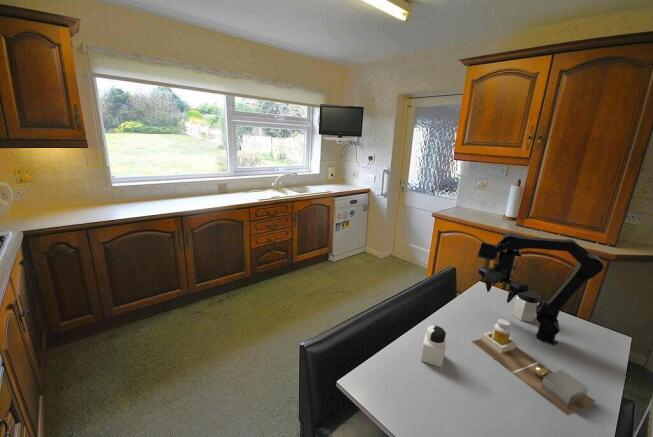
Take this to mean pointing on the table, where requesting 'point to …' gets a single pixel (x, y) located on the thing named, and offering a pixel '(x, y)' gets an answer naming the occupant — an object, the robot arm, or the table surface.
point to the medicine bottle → (434, 346)
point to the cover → (564, 388)
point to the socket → (488, 339)
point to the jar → (526, 305)
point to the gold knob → (540, 371)
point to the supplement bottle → (501, 332)
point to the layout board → (527, 373)
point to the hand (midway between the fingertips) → (497, 296)
